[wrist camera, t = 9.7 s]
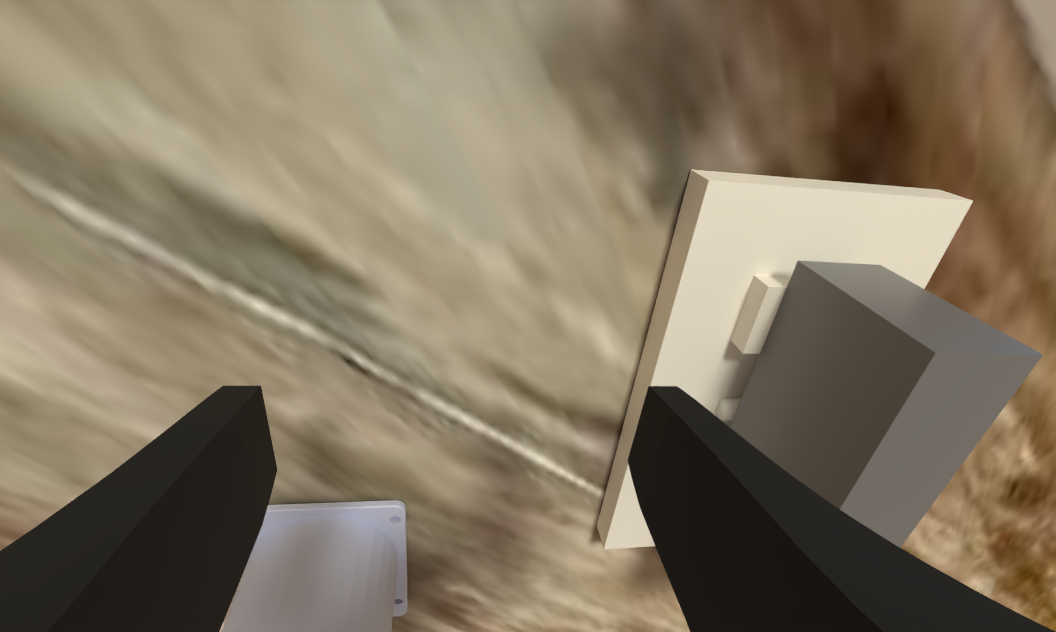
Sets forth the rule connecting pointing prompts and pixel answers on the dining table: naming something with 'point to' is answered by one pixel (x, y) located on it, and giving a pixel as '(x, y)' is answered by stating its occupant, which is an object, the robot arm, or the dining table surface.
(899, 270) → the plate
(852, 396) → the matte grey box
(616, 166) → the dining table surface
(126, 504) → the robot arm
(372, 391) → the dining table surface
